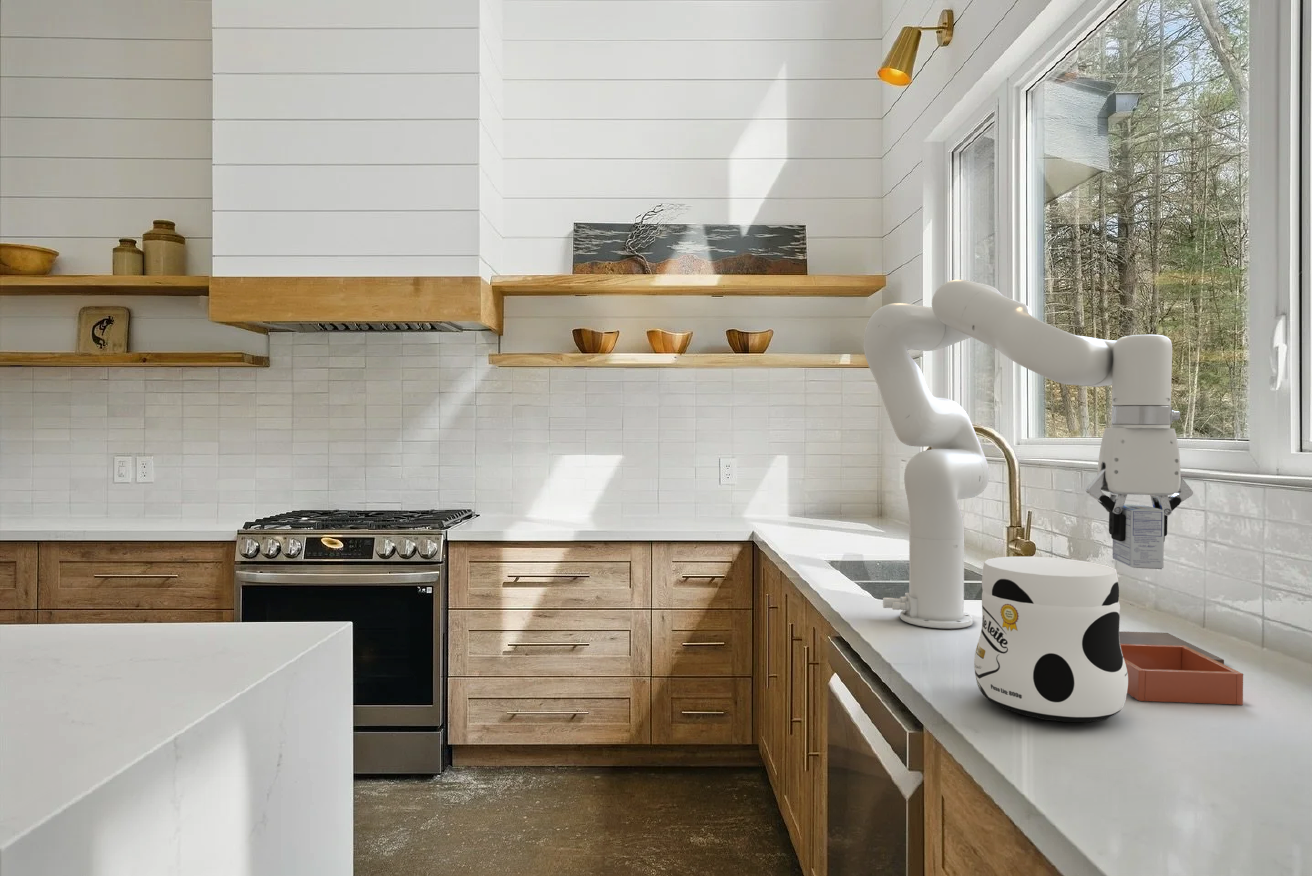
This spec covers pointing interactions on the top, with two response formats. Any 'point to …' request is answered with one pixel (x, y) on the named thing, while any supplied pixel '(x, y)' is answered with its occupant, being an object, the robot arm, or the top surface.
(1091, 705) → the milk container
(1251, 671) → the top surface
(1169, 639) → the walnut board
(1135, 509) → the medicine box
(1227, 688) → the orange hollow square frame
